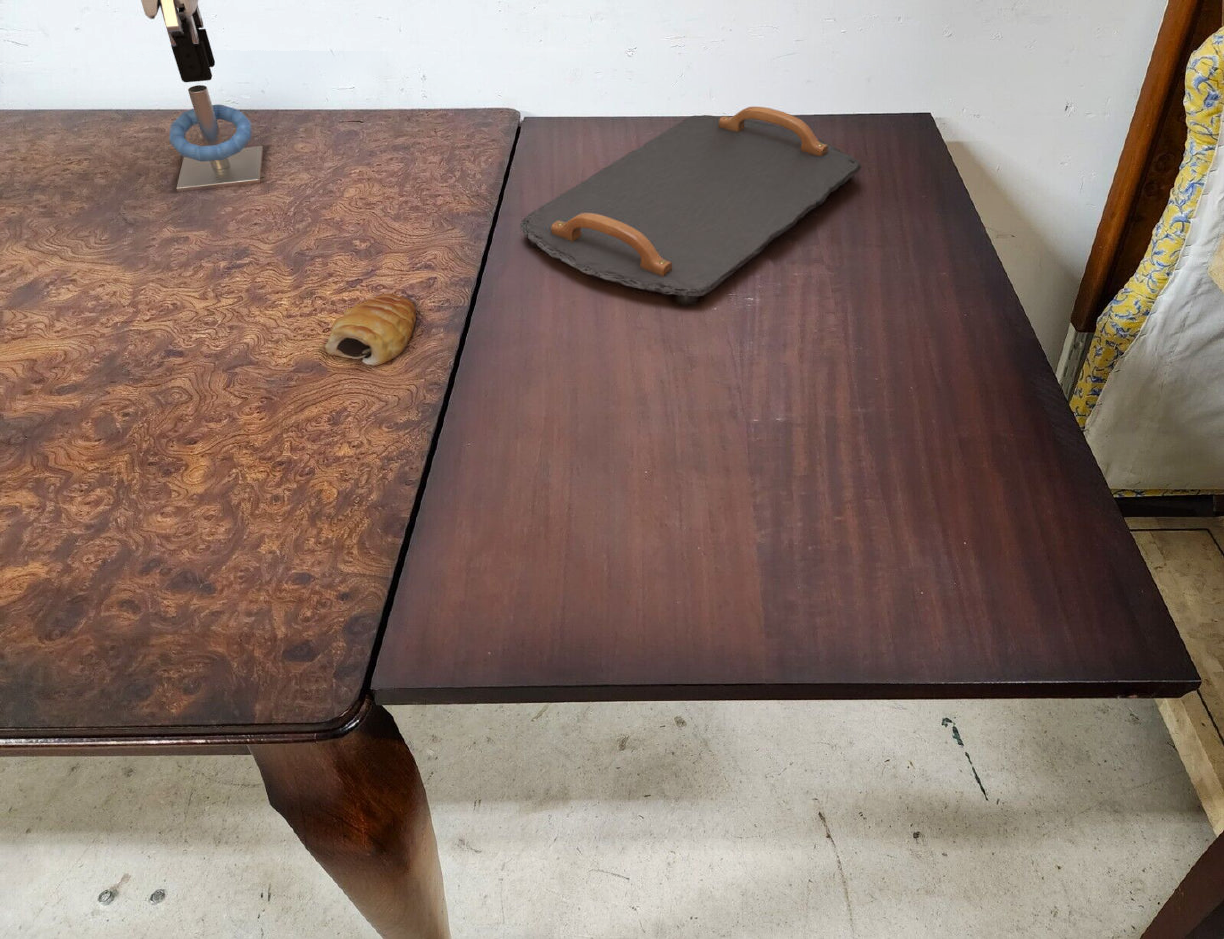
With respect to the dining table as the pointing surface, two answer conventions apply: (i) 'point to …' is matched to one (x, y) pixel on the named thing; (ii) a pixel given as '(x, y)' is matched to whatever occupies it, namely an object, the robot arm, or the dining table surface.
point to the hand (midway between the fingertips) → (198, 71)
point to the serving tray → (692, 202)
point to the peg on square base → (217, 172)
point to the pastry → (373, 329)
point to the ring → (214, 151)
